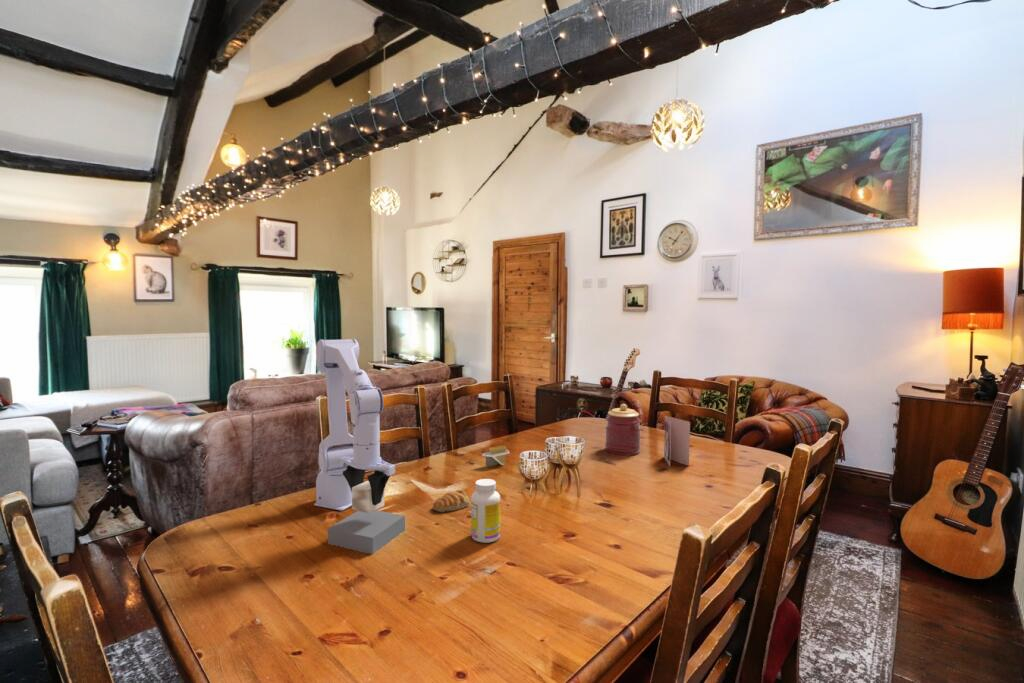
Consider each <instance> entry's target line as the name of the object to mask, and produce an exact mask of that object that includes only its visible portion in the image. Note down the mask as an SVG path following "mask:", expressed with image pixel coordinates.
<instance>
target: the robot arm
mask: <svg viewBox="0 0 1024 683" xmlns="http://www.w3.org/2000/svg"><path fill="white" fill-rule="evenodd" d="M359 344H360V343H359V342H358V341H357V339H356V338H349V339H348V338H346V339H321V338H320V339H319V340H318V341H317V342H316V346H315V347H316V350H315V354H316V367H317V370H318V372H321V373H323V374H324V378H325V383H326V384H325V385H326V398H327V399H326V400H327V416H328V431H329V432H328V435H327V436H326V437H325V438H324V439H323V440H322V441H320V443H319V446H318V457H317V458H318V466H319V469H320V472H319V473H318V474H317V476H316V481H315V490H316V491H315V492H316V499H315V500H316V502H315V503H314V506H316V507H321V508H326V509H331V510H337V511H340V512H341V511H344V510H346V509H348V508H350V507H352V487H354V486H357V485H359V484H361V483H363V482H365V481H364V479H365V474H366V471H369V472H373V473H371V474H369V475H367V476H366V478H367V481H369V483H370V487H371V494H372V503H373V505H377V504H379V503H380V502H381V500H382V495H383V492H384V493H385V488H386V485H387V483H388V482H389V479H390V477H391V476H392V475H395V473H396V464H393V463H389V462H388V461H385V460H383V459H382V457H381V450H380V449H381V442H380V441H381V438H380V436H381V435H380V433H381V430H380V424H381V423H380V419H381V418H380V414H382V413H383V411H384V402H385V401H384V395H383V392H382V390H381V388H380V387H377V386H373V383H372V381H371V379H370V378H369V376H368V373H367V372H366V371H365V370H364V369H361V368H360V366H359V364H358V360H359V357H360V345H359ZM346 393H347V395H348V399H349V400H348V407H349V411H350V420H351V422H350V423H352V429H353V430H352V431H353V432H352V434H350V433H349V428H348V426H349V425H348V413H347V412H348V410H347V397H346Z"/></svg>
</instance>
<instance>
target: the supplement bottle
mask: <svg viewBox="0 0 1024 683" xmlns="http://www.w3.org/2000/svg"><path fill="white" fill-rule="evenodd" d="M474 485H475V487H474V488H475V491H474V492H473V493H472V494H471V496H470V505H471V506H470V509H471V510H470V511H471V512H470V516H471V517H470V519H471V521H470V524H471V526H470V527H471V528H470V529H471V530H470V531H471V538H472V539H473V540H474V541H475V542H478V543H483V544H487V543H488V544H489V543H493V542H496V541H497V540H499V538H500V536H501V495H500V493H499V492H498V491H496V489H497V488H496V487H497V482H496V480H494V479H492V478H479V479H478V480H476V481H475V484H474Z"/></svg>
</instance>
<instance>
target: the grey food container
mask: <svg viewBox="0 0 1024 683" xmlns="http://www.w3.org/2000/svg"><path fill="white" fill-rule="evenodd" d="M489 450H490V451H487V452H483V453H481V456H482V457H485V468H488V467H487V466H490V467H493V466H492V465H495V466H497V465H496V464H499V465H501V466H505V465H506V455H509V454H510V450H509V449H507V446H505V445H499V446H495V447H489Z"/></svg>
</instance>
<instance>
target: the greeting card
mask: <svg viewBox="0 0 1024 683" xmlns="http://www.w3.org/2000/svg"><path fill="white" fill-rule="evenodd" d="M662 421H663V423H664V424H663V425H664V439H663V440H664V441H663V442H664V446H663V447H664V448H663V450H664V451H663V458H664V460H665V461H666V463H667V464H668V467H671V460H672V461H675V462H677V463H680V464H682V465H685V466H688V467H689V466H690V443H691V442H690V441H691V436H690V435H691V422H690V421H688V420H684V419H680V418H677V417H672V416H669V415H665V416H664V420H662Z"/></svg>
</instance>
